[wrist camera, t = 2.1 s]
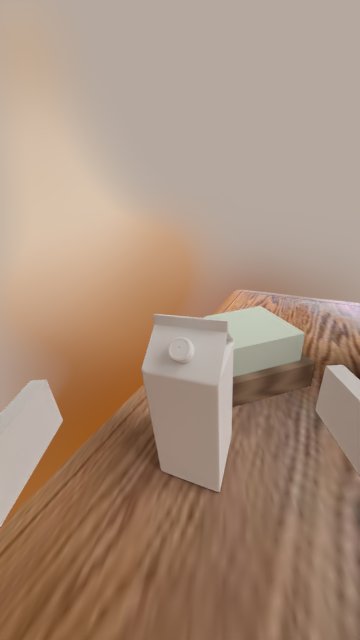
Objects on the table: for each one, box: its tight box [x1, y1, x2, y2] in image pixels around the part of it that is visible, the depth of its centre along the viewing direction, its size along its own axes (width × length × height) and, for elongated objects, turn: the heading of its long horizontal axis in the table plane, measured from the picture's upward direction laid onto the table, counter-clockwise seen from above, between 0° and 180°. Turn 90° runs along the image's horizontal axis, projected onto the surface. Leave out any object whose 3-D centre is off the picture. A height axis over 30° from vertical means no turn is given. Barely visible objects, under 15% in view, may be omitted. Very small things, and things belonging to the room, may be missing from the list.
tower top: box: [204, 306, 305, 377], centre depth 39 cm, size 12×12×5 cm
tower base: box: [232, 353, 315, 407], centre depth 41 cm, size 15×15×5 cm
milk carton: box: [142, 314, 234, 492], centre depth 24 cm, size 7×7×19 cm
